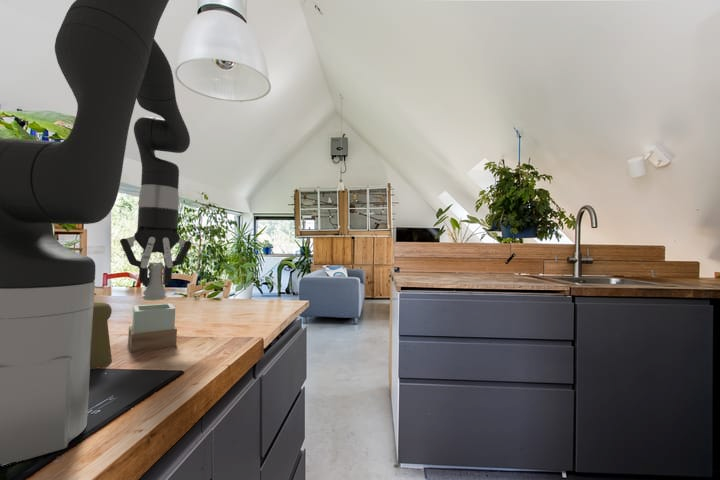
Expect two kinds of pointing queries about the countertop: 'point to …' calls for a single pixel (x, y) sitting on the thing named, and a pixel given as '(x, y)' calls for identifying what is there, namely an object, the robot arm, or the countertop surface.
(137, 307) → the sage top block
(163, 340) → the walnut base block
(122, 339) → the countertop surface
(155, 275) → the rook chess piece
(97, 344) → the olive tapered piece
